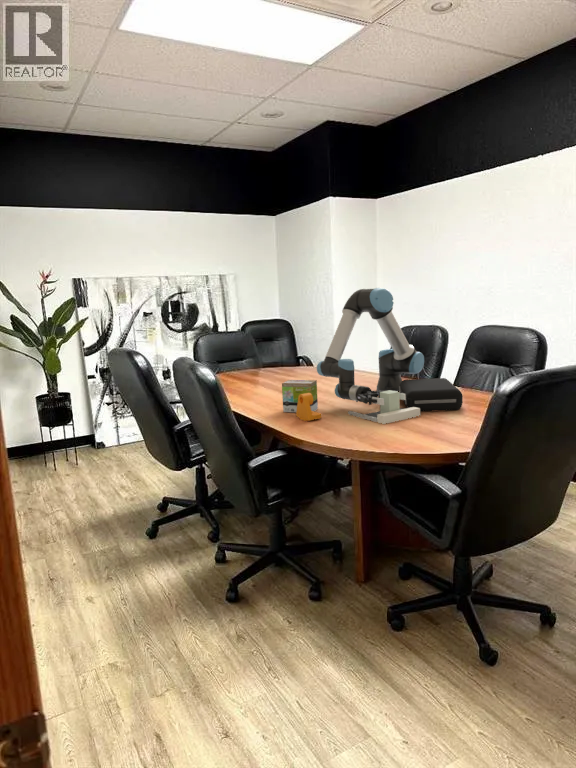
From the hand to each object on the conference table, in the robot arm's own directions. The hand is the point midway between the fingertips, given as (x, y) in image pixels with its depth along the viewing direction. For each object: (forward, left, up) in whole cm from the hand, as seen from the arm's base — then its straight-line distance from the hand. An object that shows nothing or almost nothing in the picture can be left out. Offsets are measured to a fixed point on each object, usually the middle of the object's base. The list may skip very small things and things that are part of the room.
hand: (394, 399), depth 238 cm
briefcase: (-29, -12, -9) cm, 32 cm away
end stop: (0, +3, -8) cm, 9 cm away
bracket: (+28, -26, -9) cm, 39 cm away
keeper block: (0, -3, -8) cm, 9 cm away
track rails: (0, -9, -8) cm, 13 cm away
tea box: (+22, -43, -9) cm, 49 cm away
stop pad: (0, -6, -8) cm, 10 cm away
